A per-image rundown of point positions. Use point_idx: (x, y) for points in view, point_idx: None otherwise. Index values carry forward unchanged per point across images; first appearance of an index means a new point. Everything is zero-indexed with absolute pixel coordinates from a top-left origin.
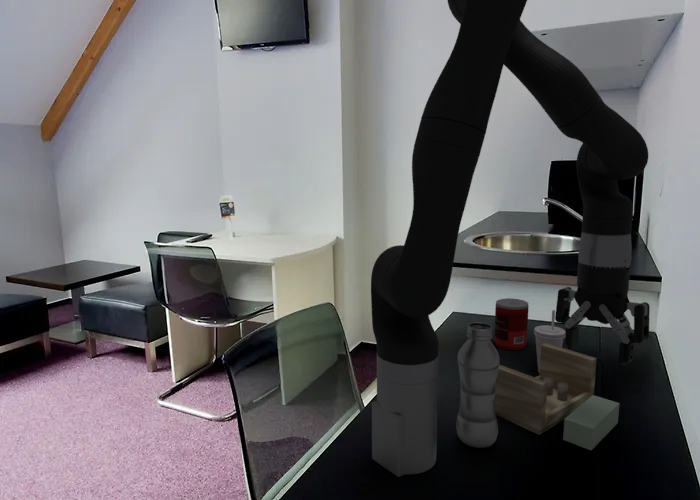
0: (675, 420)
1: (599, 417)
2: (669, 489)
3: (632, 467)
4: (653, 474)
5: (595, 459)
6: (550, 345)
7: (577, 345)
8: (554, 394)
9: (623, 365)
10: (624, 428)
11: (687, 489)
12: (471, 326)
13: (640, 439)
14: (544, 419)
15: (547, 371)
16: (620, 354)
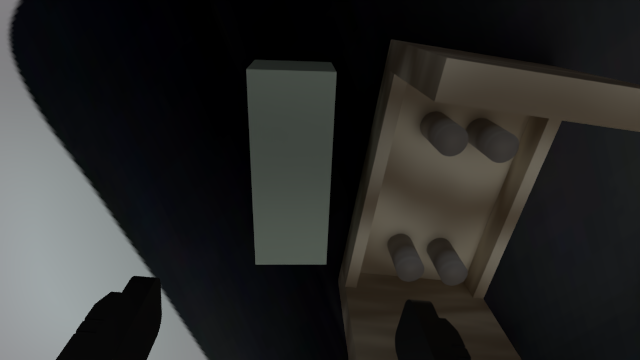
0: (179, 314)
1: (261, 153)
2: (40, 10)
3: (147, 51)
4: (99, 55)
5: (228, 21)
6: None
7: (397, 347)
8: (422, 253)
9: (136, 277)
10: (240, 218)
11: (17, 43)
12: None
13: (194, 194)
14: (394, 68)
15: (469, 310)
16: (127, 316)
